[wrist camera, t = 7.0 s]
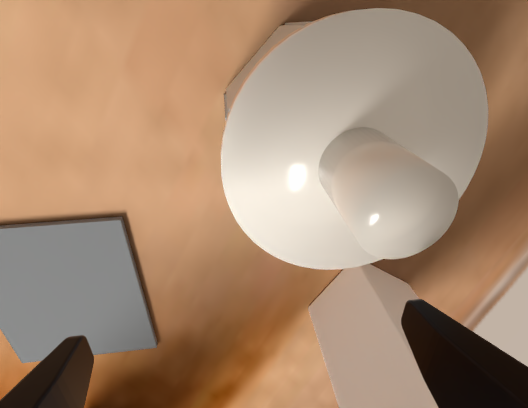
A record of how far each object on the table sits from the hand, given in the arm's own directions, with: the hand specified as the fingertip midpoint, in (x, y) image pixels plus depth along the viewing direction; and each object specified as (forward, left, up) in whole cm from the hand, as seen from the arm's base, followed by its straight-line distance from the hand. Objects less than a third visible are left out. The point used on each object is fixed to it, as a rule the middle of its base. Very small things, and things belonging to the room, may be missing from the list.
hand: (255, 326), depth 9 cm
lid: (+2, -5, -6) cm, 8 cm away
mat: (-9, +12, -11) cm, 19 cm away
